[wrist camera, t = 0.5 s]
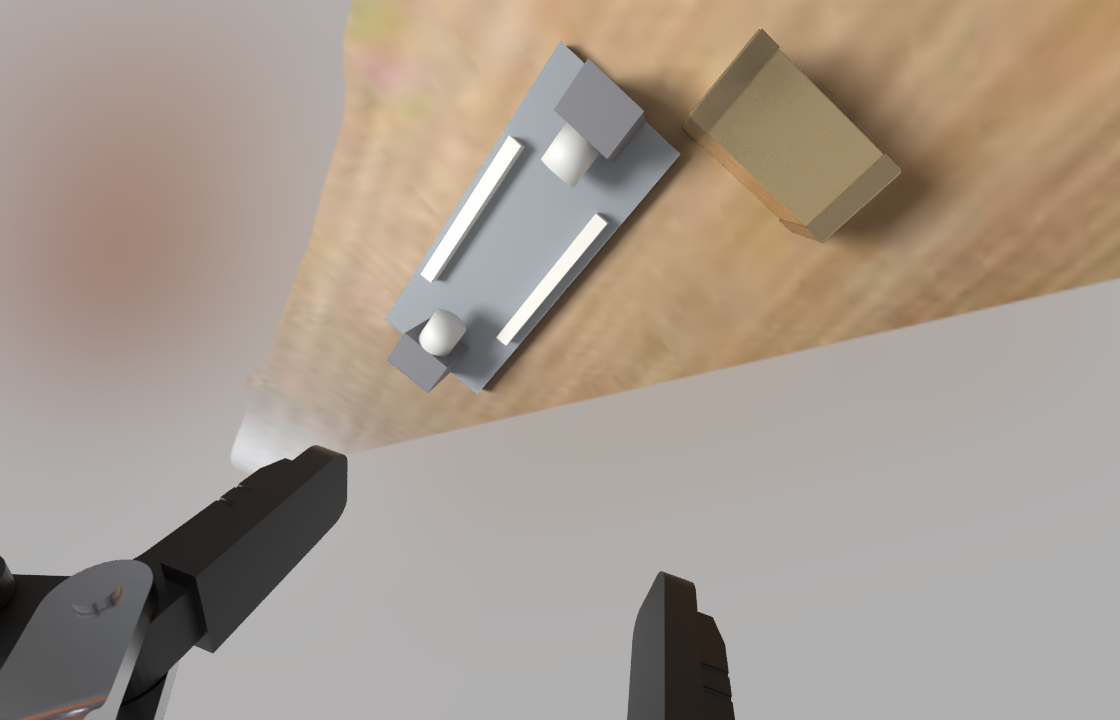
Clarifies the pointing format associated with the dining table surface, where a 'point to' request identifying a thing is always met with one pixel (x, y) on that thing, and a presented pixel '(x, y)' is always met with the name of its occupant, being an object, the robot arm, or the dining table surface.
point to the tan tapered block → (788, 142)
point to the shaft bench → (527, 223)
